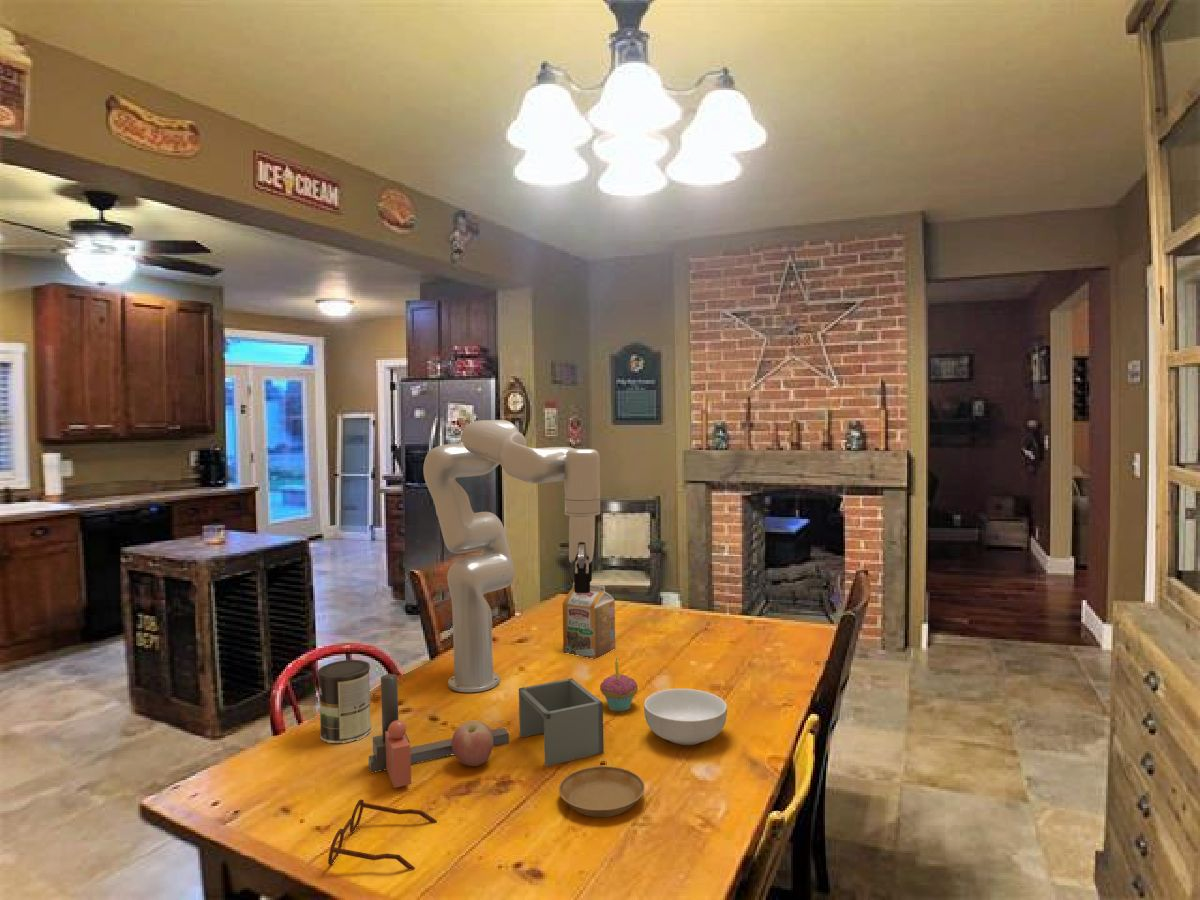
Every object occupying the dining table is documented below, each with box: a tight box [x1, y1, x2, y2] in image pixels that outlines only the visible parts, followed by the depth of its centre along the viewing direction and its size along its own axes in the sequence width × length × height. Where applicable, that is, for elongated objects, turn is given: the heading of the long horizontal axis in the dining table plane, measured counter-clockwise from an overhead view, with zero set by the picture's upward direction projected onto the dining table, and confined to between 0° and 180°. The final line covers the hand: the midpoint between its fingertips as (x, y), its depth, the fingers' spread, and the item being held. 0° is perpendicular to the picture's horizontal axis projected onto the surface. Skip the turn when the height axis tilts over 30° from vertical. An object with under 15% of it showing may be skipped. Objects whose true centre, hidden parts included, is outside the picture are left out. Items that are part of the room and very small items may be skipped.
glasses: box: [327, 799, 438, 871], centre depth 113 cm, size 13×13×5 cm
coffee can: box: [317, 659, 372, 744], centre depth 153 cm, size 10×10×14 cm
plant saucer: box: [558, 765, 646, 818], centre depth 125 cm, size 15×15×3 cm
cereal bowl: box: [643, 688, 728, 746], centre depth 149 cm, size 17×17×7 cm
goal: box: [518, 677, 605, 767], centre depth 146 cm, size 15×12×10 cm
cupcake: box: [599, 657, 638, 712], centre depth 164 cm, size 9×8×12 cm
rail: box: [368, 727, 510, 773], centre depth 143 cm, size 3×27×2 cm, turn 116°
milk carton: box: [562, 582, 616, 660], centre depth 204 cm, size 11×11×19 cm
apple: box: [451, 720, 494, 767], centre depth 139 cm, size 8×8×8 cm
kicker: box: [372, 673, 412, 788], centre depth 135 cm, size 14×6×16 cm, turn 26°
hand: (583, 586), depth 155 cm, fingers open, 9 cm apart
